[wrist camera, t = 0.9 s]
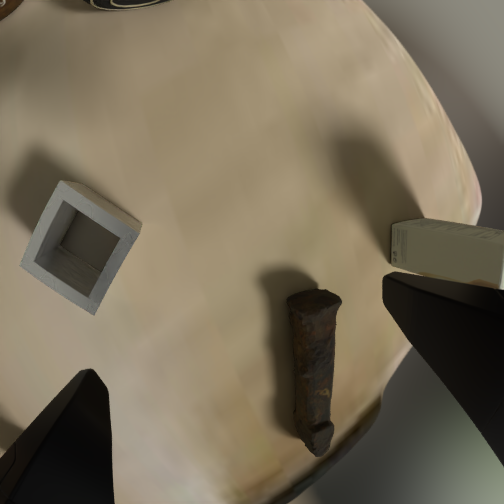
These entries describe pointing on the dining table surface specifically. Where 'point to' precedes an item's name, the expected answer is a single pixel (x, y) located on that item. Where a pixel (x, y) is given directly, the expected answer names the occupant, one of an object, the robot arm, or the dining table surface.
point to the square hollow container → (64, 262)
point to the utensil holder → (8, 7)
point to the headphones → (124, 4)
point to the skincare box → (449, 251)
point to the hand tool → (314, 365)
